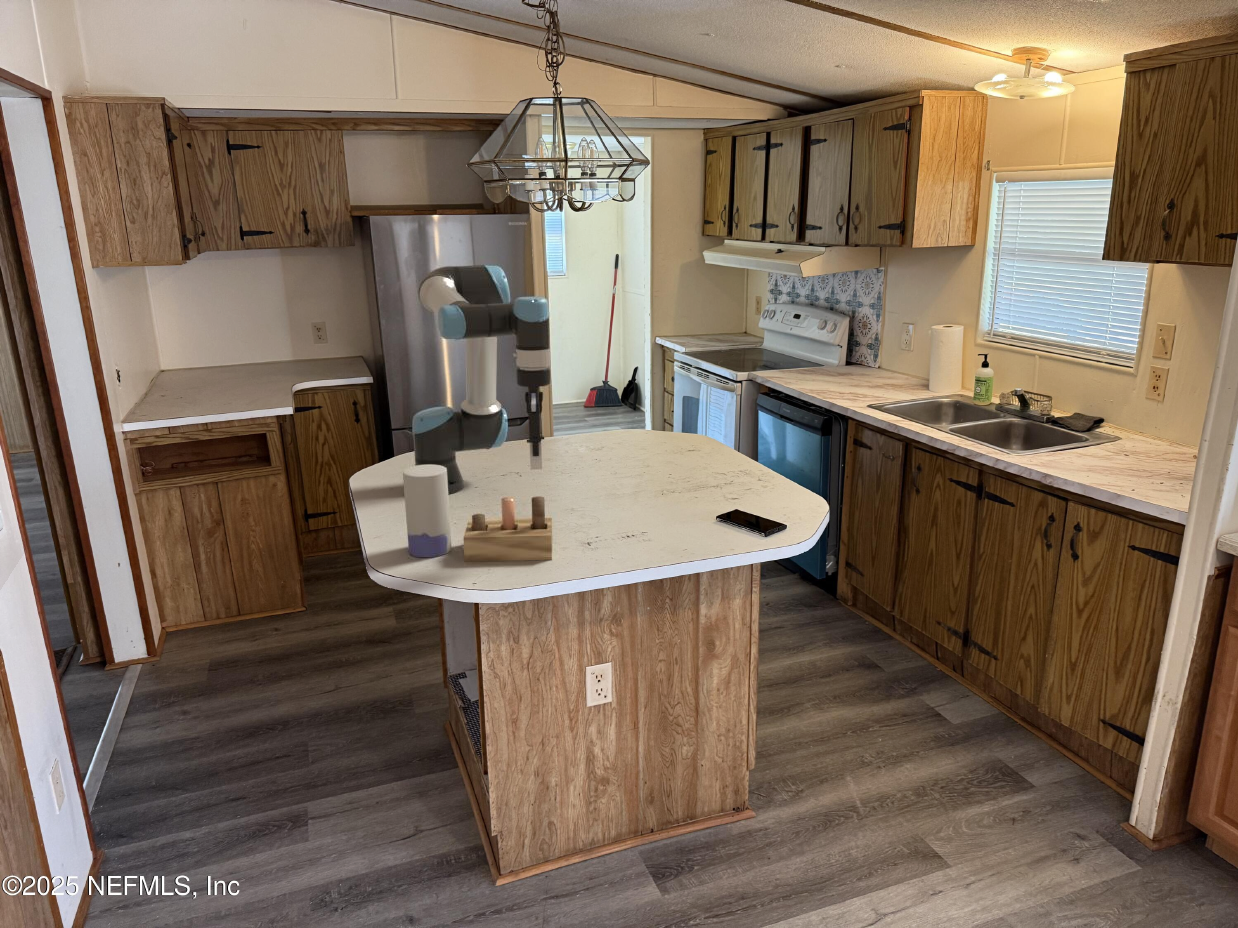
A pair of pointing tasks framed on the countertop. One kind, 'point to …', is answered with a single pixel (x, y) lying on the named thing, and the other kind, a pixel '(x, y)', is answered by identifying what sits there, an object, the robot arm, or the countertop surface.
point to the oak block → (508, 541)
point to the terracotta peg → (508, 513)
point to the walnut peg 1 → (478, 522)
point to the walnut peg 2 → (538, 513)
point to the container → (427, 510)
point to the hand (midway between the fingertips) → (536, 468)
